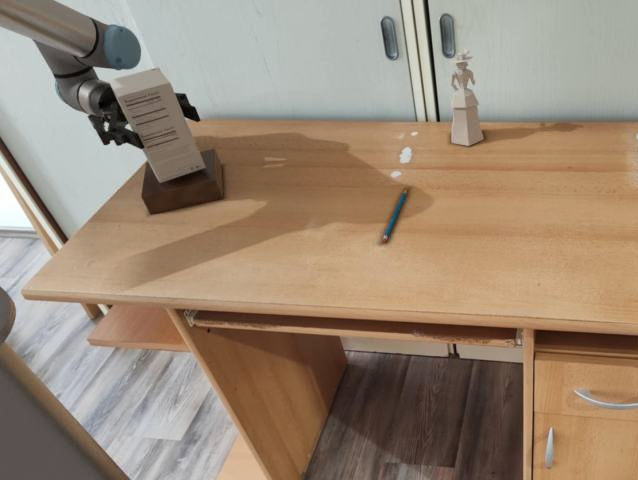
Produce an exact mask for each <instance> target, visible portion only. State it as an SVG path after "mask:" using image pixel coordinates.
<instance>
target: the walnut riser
mask: <svg viewBox="0 0 638 480" xmlns="http://www.w3.org/2000/svg"><path fill="white" fill-rule="evenodd" d="M199 152H200V155H201V157H202V159H203V162H204V164H205V166H206V168H204V169H201V170H198V171H195V172H192V173H189V174H186V175H183V176H180V177H177V178H174V179H171V180H168V181H165V182H162V183H160V182H159V181H158V179H157V177H156V175H155V173H154V172H153V170H152V168H151V166H150V164H149V162H148V161H147V162H145V169H144V175H143V182H142V189H141V195H140V196H141V199H142V201H143V203H144V205H145V207H146V209H147V211H148V212H149V214H150V215H155V214H158V213H164V212H168V211H171V210H172V211H173V210H178V209H181V208H185V207H191V206H195V205H199V204H205V203H208V202H213V201H218V200H221V199H224V190H223V189H224V187H223V166H222V163H221V161H220V160H221V159H220V158H219V155H218V153H217V150H216V148H212V149H207V150H206V149H205V150H201V151H199Z"/></svg>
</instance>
